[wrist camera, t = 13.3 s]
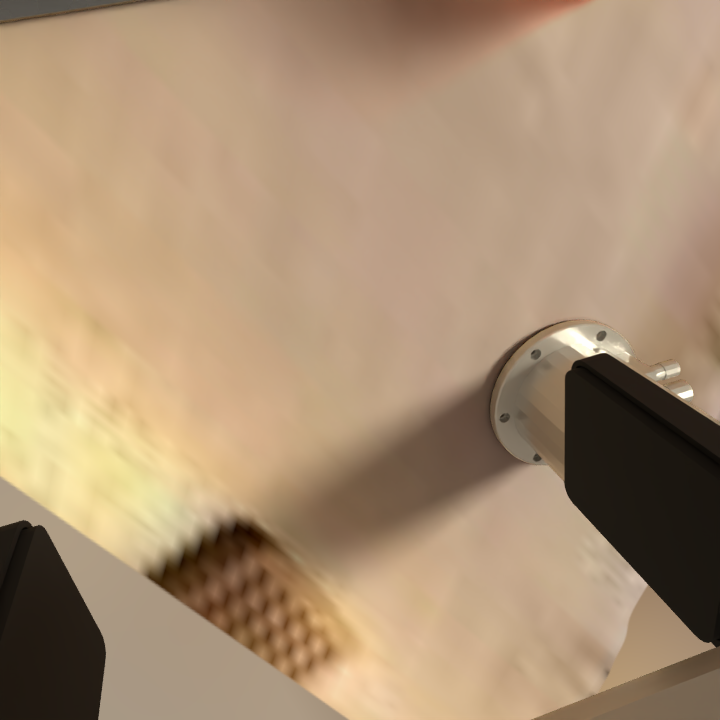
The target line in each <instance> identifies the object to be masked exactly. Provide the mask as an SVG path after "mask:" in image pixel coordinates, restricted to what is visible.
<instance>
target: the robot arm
mask: <svg viewBox="0 0 720 720" xmlns="http://www.w3.org/2000/svg"><path fill="white" fill-rule="evenodd" d="M679 374H680V366H679V364H678V362H676V361H675V360H673V359H670V360H667V361H663V362H660V363H657V364H655V365H653V366H648V365H646V364H644V363H643V362H641V361H639V360H638V359H636V357H635V354H634V351H633V349H632V347H631V346H630V344H629V342H628V341H627V340H626V339H625V338H624V337H623V336H622V335H621V334H620V333H619V332H617V331H615V330H614V329H612V328H610V327H609V326H607V325H604V324H602V323H599V322H597V321H590V320H573V321H567V322H563V323H560V324H556V325H553V326H551V327H549V328H547V329H545V330H543V331H541V332H539V333H538V334H536V335H535V336H533V337H532V338H531V339H529V340H528V341H527V342H525V343H524V344H523V345H522V346H521V347H520V348H519V349H518V350H517V351H516V352H515V353H514V354H513V356H512V357H511V358H510V359H509V361H508V362H507V363H506V364H505V366H504V368H503V370H502V371H501V373H500V375H499V377H498V379H497V381H496V384H495V387H494V389H493V393H492V398H491V404H490V419H491V423H492V427H493V431H494V433H495V435H496V437H497V439H498V440H499V441H500V443H501V444H502V445H503V446H504V448H505V449H506V450H507V451H508V452H509V453H511V454H512V455H513V456H514V457H515V458H517V459H519V460H521V461H523V462H526V463H529V464H533V465H549V466H550V467H551V468H552V469H553V471H554V472H555V473H556V474H557V475H558V476H559V477H560V478H561V479H562V480H563V481H564V483H565V489H566V492H567V494H568V496H569V498H570V500H571V501H572V502H573V504H574V505H575V506H576V507H577V508H578V509H579V510H580V511H581V512H582V513H583V514H584V516H585V517H586V518H587V519H588V520H589V521H590V522H591V523H592V524H593V525H594V526H595V527H596V529H597V530H598V531H599V532H600V533H601V534H602V535H603V536H604V537H605V538H606V539H607V540H608V542H609V543H610V544H611V545H612V546H613V547H614V548H615V549H616V550H617V551H618V552H619V553H620V554H621V556H622V557H623V558H624V559H625V560H626V561H627V562H628V563H629V564H630V565H631V566H632V567H633V569H634V570H635V571H636V572H637V573H638V574H639V575H640V576H641V577H642V578H643V579H644V580H645V582H646V583H647V584H648V585H649V586H650V587H651V588H652V589H653V590H654V591H655V592H656V593H657V594H658V596H659V597H660V598H661V599H662V600H663V601H664V602H665V603H666V604H667V605H668V606H669V607H670V608H671V610H672V611H673V612H674V613H675V614H676V615H677V616H678V617H679V618H680V619H681V620H682V622H683V623H684V624H685V625H686V626H687V627H688V628H689V629H690V630H691V631H692V632H693V633H694V635H696V636H697V637H698V638H699V639H700V640H702V641H703V642H707V643H709V642H712V643H713V645H714V646H715V647H716V648H714V649H711V650H708V651H706V652H703V653H701V654H698V655H696V656H693V657H691V658H688V659H685V660H683V661H680V662H678V663H675V664H673V665H670V666H667V667H665V668H662V669H660V670H657V671H655V672H652V673H649V674H647V675H644V676H642V677H639V678H637V679H634V680H632V681H629V682H627V683H624V684H621V685H619V686H616V687H614V688H611V689H609V690H606V691H604V692H601V693H598V694H596V695H593V696H590V697H588V698H585V699H583V700H580V701H578V702H575V703H573V704H570V705H567V706H565V707H562V708H560V709H557V710H555V711H552V712H550V713H547V714H545V715H542V716H540V717H537V718H534V719H532V720H720V422H719V421H718V420H716V419H714V418H713V417H711V416H710V415H708V414H707V413H705V412H704V411H702V410H700V409H699V408H697V407H696V406H694V405H693V404H691V403H689V402H690V401H691V400H692V399H693V391H692V388H691V386H690V385H689V384H688V383H687V382H686V381H685V380H678V381H674V382H671V383H668V384H664V385H661V384H660V383H658V382H657V381H659V380H665V379H669V378H672V377H675V376H678V375H679ZM105 658H106V651H105V643H104V639H103V636H102V635H101V632H100V630H99V628H98V626H97V624H96V623H95V621H94V619H93V617H92V615H91V613H90V611H89V610H88V608H87V606H86V604H85V602H84V600H83V598H82V597H81V595H80V593H79V591H78V589H77V587H76V585H75V583H74V582H73V580H72V578H71V576H70V574H69V572H68V570H67V568H66V566H65V565H64V563H63V561H62V559H61V557H60V555H59V553H58V552H57V550H56V548H55V546H54V544H53V542H52V540H51V539H50V537H49V535H48V533H47V531H46V530H45V528H44V527H43V526H40V525H38V526H34V527H33V526H31V524H30V523H29V522H28V521H24V520H23V521H19V522H16V523H13V524H9V525H5V526H2V527H0V720H98V716H99V707H100V700H101V691H102V682H103V674H104V667H105Z"/></svg>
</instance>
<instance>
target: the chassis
mask: <svg viewBox="0 0 720 720" xmlns="http://www.w3.org/2000/svg"><path fill="white" fill-rule="evenodd" d="M139 1H146V0H0V23H4V22H10V21H17V20H23V19H30V18H36V17H43V16H49V15H56V14H62V13H68V12H75V11H81V10H88V9H94V8H101V7H107V6H114V5H120V4H127V3H133V2H139Z"/></svg>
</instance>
